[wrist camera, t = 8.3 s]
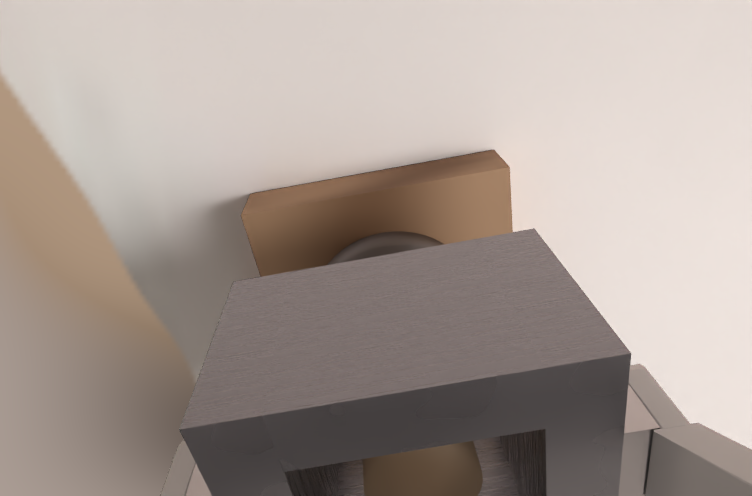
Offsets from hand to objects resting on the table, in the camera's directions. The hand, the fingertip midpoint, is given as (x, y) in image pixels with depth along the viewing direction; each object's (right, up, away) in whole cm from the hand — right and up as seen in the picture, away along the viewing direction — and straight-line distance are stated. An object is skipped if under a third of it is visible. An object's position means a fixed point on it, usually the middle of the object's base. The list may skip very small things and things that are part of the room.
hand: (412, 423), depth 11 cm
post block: (0, +3, +5) cm, 6 cm away
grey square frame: (0, +1, +2) cm, 2 cm away
